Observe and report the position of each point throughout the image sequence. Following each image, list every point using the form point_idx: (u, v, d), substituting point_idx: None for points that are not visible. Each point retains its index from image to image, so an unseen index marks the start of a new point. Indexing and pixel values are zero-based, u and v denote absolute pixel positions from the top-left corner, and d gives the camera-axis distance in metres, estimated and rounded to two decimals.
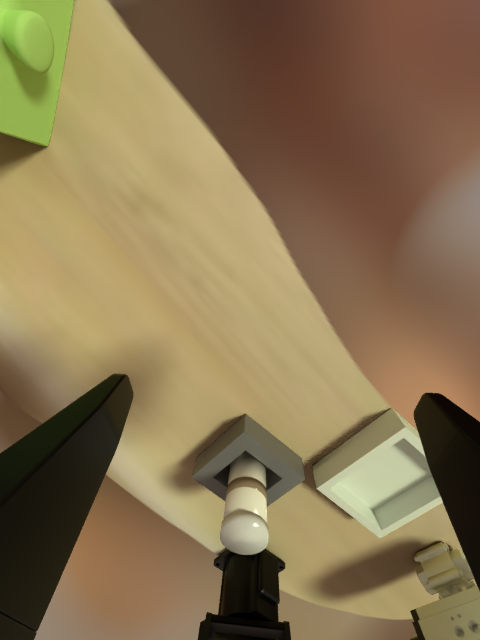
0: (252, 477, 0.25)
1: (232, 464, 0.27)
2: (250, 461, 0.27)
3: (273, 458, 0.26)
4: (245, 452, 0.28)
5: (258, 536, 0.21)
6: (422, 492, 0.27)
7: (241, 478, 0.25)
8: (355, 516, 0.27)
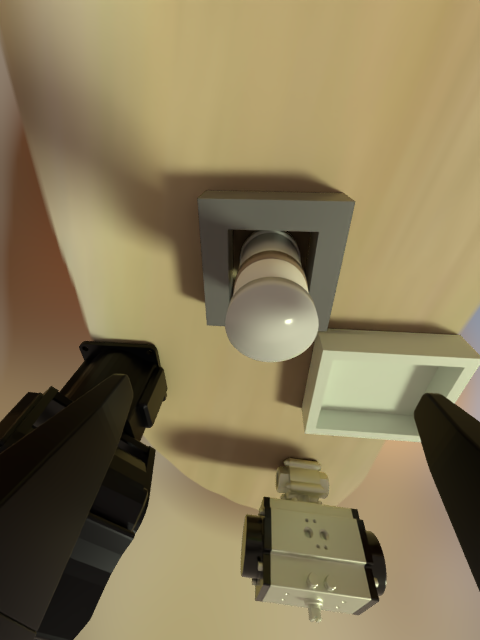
0: (303, 272, 0.14)
1: (266, 238, 0.15)
2: (297, 255, 0.16)
3: (331, 276, 0.16)
4: (290, 242, 0.16)
5: (294, 340, 0.12)
6: (379, 422, 0.24)
7: (293, 258, 0.14)
8: (314, 402, 0.21)
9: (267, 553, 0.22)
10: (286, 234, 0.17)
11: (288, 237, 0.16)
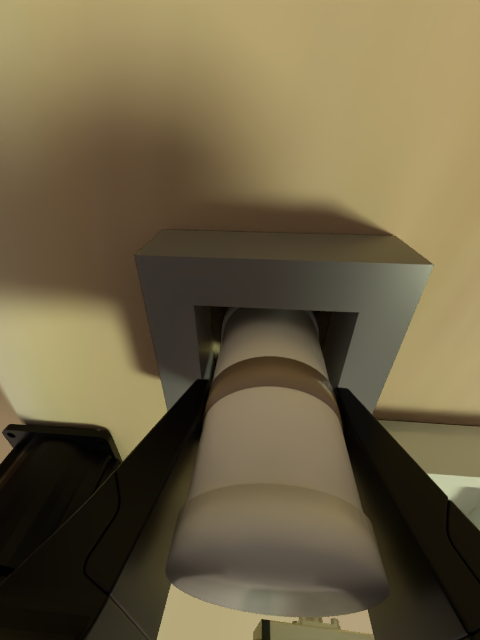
0: (331, 388, 0.08)
1: (264, 315, 0.09)
2: (317, 343, 0.09)
3: (375, 377, 0.09)
4: (304, 314, 0.10)
5: (325, 603, 0.05)
6: None
7: (315, 371, 0.07)
8: None
9: None
10: None
11: None
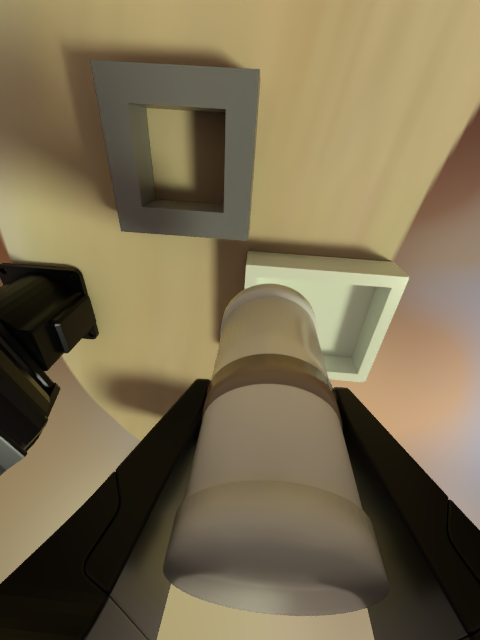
0: (330, 386, 0.08)
1: (263, 313, 0.09)
2: (316, 341, 0.09)
3: (245, 168, 0.15)
4: (304, 312, 0.10)
5: (324, 602, 0.05)
6: None
7: (313, 369, 0.07)
8: None
9: None
10: (296, 298, 0.10)
11: (299, 303, 0.10)
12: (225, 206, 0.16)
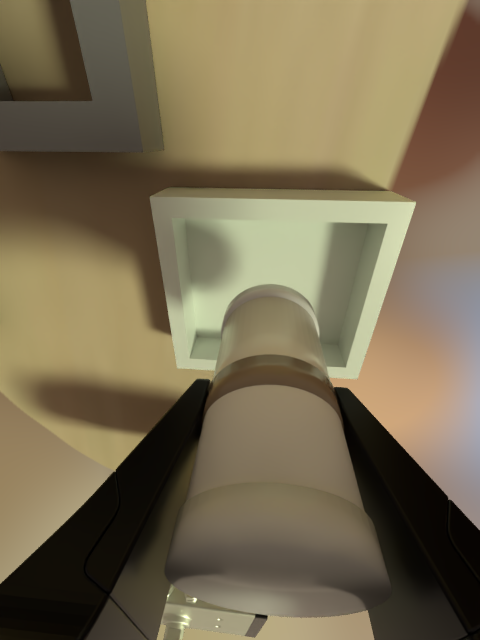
0: (331, 387, 0.08)
1: (264, 314, 0.09)
2: (317, 341, 0.09)
3: (106, 0, 0.08)
4: (305, 313, 0.10)
5: (326, 603, 0.05)
6: None
7: (315, 369, 0.07)
8: (172, 309, 0.14)
9: None
10: (297, 298, 0.10)
11: (300, 304, 0.10)
12: (92, 87, 0.09)
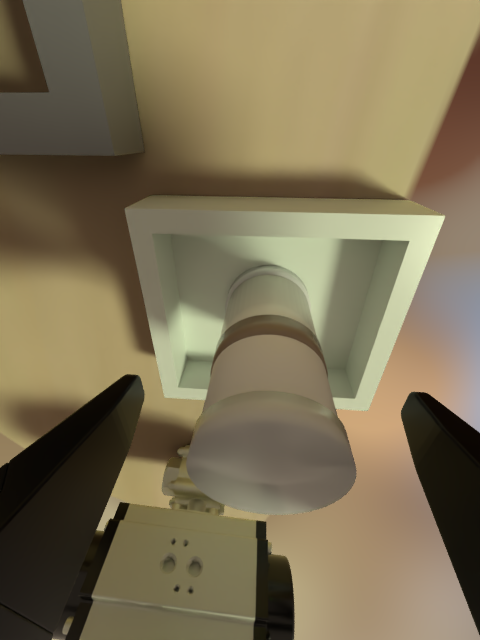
0: (318, 344, 0.09)
1: (263, 287, 0.10)
2: (308, 311, 0.11)
3: None
4: (298, 288, 0.11)
5: (309, 492, 0.07)
6: None
7: (304, 327, 0.09)
8: (156, 335, 0.12)
9: (87, 601, 0.13)
10: (291, 276, 0.12)
11: (294, 281, 0.11)
12: (48, 75, 0.08)
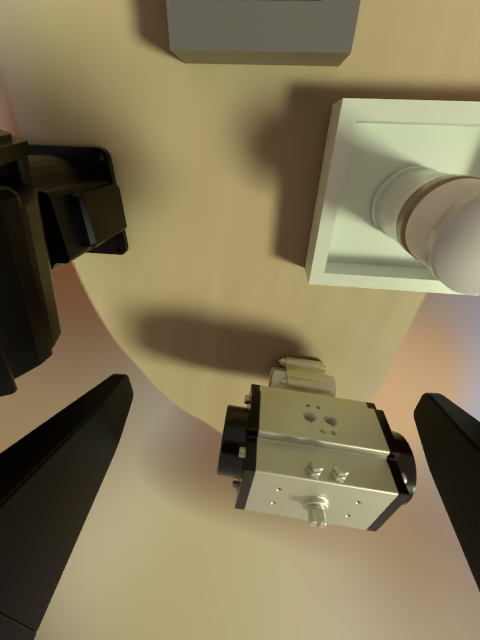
0: None
1: (427, 171, 0.14)
2: None
3: None
4: None
5: None
6: (409, 272, 0.18)
7: None
8: (325, 219, 0.15)
9: (253, 437, 0.16)
10: None
11: None
12: None
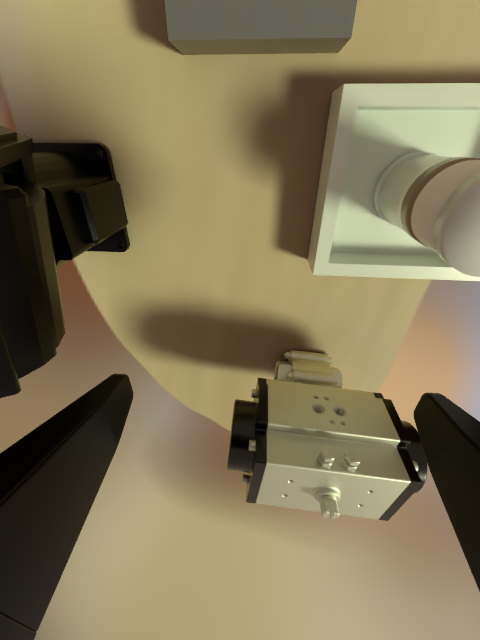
0: None
1: (430, 156, 0.14)
2: None
3: None
4: None
5: None
6: (413, 259, 0.17)
7: None
8: (328, 208, 0.15)
9: (262, 430, 0.16)
10: None
11: None
12: None
